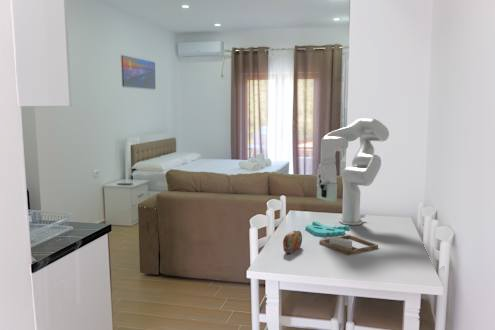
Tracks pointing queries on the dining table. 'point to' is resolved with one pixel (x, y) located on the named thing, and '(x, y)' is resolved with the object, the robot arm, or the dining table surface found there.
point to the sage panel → (328, 192)
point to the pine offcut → (342, 247)
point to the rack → (354, 250)
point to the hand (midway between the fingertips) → (326, 196)
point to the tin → (292, 241)
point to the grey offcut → (340, 241)
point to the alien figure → (326, 229)
